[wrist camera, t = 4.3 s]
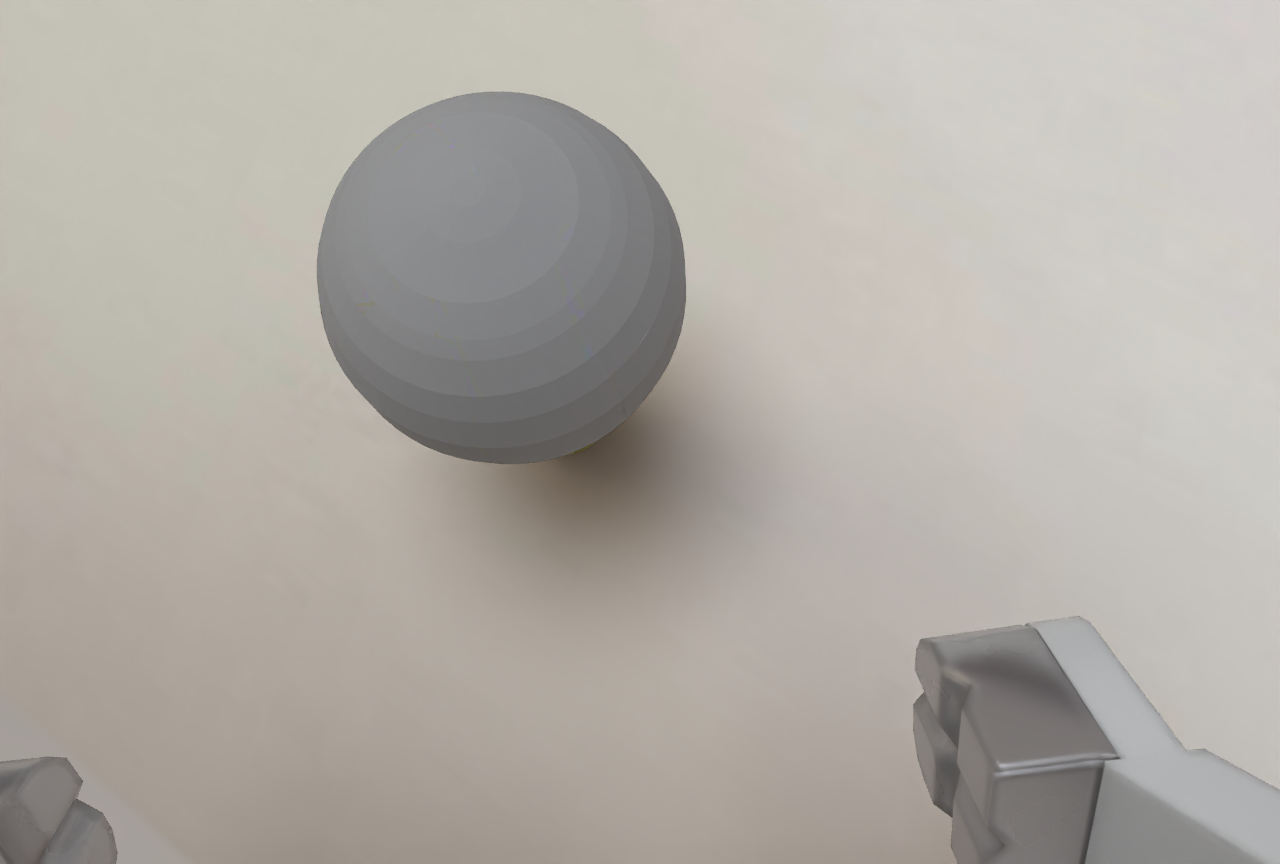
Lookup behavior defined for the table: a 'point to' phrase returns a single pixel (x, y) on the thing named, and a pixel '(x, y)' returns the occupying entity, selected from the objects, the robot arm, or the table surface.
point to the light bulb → (501, 278)
